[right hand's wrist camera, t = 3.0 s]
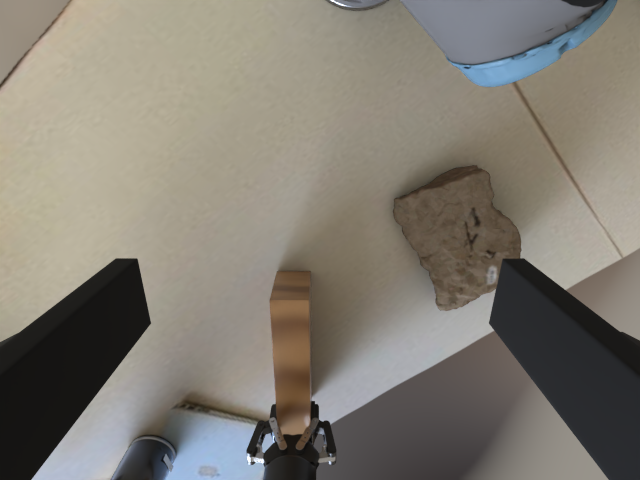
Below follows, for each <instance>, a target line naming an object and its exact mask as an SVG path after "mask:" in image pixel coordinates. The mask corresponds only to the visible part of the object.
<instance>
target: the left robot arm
mask: <svg viewBox="0 0 640 480" xmlns="http://www.w3.org/2000/svg"><path fill="white" fill-rule="evenodd" d="M268 433H270V435H271V438H272V441H273V444H272V445H271V446H270V447H269V448H268V450H267V451H266V452H265V453H263V452H262V443H263V440H264V437H265V435H266V434H268ZM318 433H319V434H322V435H323V440H324V444H325V445H324V446H323V447H322V451H321V452H320V453H318V451H317V450H316V449H315V448H314V446H313V445H314V441H315V439H316V437H317V435H318ZM175 457H176V452H175V449H174V447H173V446H172V445H171V444H170V443H169V442H168V441H166V440H164V439H162V438H160V437H156V436H142V437H139V438H137V439H135V440H134V441H133V442H132V443H131V445H130V447H129V449H128V450H127V451H126V453H125V455H124V456H123V458H122V460H121V462H120V464H119V465H118V467H117V469H116V471H115V473H114V474H113V476H112V478H111V480H166V478H167V475H168V473H169V470H170V472H171V471H172V468H173V465H172V464H173V462H174V460H175ZM247 460H248V464H249V465H253V464H254V463H255V462H261V463H264V466H265V471H264V478H263V480H316V469H317V467H318V466H319V463H323V462H329V464H330V465H334V464H335V463H336V447H335V443H334V439H333V434H332V430H331V426H330V423H329V421H324V422H322V421H320V420H319V406H318V404H315V401H311V422H310V424H309V426H308V427H306V429H305V431H304V433H303V434H296V435H290V434H283V435H282V432H281V429H280V427H279V426H278V423H277V414H276V404H273V405H272V407H271V413H270V419H269V420H268V421H266V422H264V421H259V422H258V423H257V426H256V428H255V431H254V433H253V436H252V438H251V441H250V443H249V446H248V448H247Z"/></svg>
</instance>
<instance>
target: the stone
mask: <svg viewBox="0 0 640 480" xmlns="http://www.w3.org/2000/svg"><path fill="white" fill-rule="evenodd" d="M493 197H494V193H493V190H492V188H491V184H490V175H489V173H488V172H487V171H485V170H482V169H478V167H477V166H476V165H473V166H468V167H462V168H455V169H453V170H450V171H448V172H446V173H444V174H442V175H440V176H438V177H437V178H435V179H434V180H433V181H432V182H431V183H429V184H428V185H425V186H423V187H421V188H419V189H417V190H415V191H412V192H411V193H409V194H408V195H404V196H402V197H400V198H395V199H394V210H393V213H394V218H395V220H396V222H397V223H398V224H399V225H401V226H402V231H403V234H404V236H405V237H406V239H407V240H408V241H409V243H410V245H411V246H412V248H413V249H414V250H416V251H417V253H418V256H419V258H420V263H421V266H422V267H423V268H425V269H426V270H428V271H429V275H430V278H431V280H432V282H433V285H434V287H435V293H436V305H437V307H438V308H439V310H445V311H448V310H451V309H457V308H459V307H462V306H464V305H466V304H468V303H469V302H470V301H473V300H475V299H477V298H479V297H480V296H481V295H482V294H485V293H489V292H492V291H493V290H494V289H496V288H497V283H498V278H499V273H500V269H501V264H502V259H520V252H521V238H520V235H519V232H518V229H517V227H516V226H515V225H514V224H513V222H512V221H511V220H510V219H509V218H507V217H506V216H504V215H503V214H502V213H501V212H500V211H499V210H496V209H495V208H494V207H493V204H492V201H491V200H492V198H493Z"/></svg>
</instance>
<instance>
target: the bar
mask: <svg viewBox="0 0 640 480" xmlns="http://www.w3.org/2000/svg"><path fill="white" fill-rule="evenodd" d="M270 314H271V331H272V347H273V364H274V380H275V397H276V414H277V423H278V426H279V427H280V429H281V432H282V435H283V434H290V435H296V434H303V433H304V431H305V429H306V427H308V426H309V424H310V422H311V401H312V354H311V272H310V271H277V273H276V277H275V281H274V285H273V289H272V293H271V297H270Z"/></svg>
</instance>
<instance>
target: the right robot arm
mask: <svg viewBox="0 0 640 480" xmlns="http://www.w3.org/2000/svg"><path fill="white" fill-rule="evenodd" d="M326 1H328V2H329V3H331V4H333V5H335V6H337V7H339V8H342V9H346V10H353V11H361V10H368V9H372V8H375V7H378V6H380V5H382V4H384V3H386V2H387V1H389V0H326ZM400 1H401V3H402V4H403V5H404V6H405V7H406V8H407V10H408V11H409V12H410V13H411V14H412V16H413V17H414V18H415V19H416V20H417V22H418V23H419V24H420V25H421V26H422V28H423V29H424V30H425V31H426V32H427V33H428V35H429V36H430V37H431V38H432V39H433V41H434V42H435V43H436V44H437V45H438V47H439V48H440V49H441V50H442V51H443V53H444V54H445V56H446V58H447V60H448V61H449V62H451V64H452V65H454V66H456V67H458V68H459V69H460V70H461V71H462V72H463V73H464V74H465V76H466V77H467V78H468V79H469V80H470V81H472V82H473V83H475V84H477V85H480V86H484V87H496V86H502V85H506V84H509V83H512V82H515V81H518V80H520V79H523V78H525V77H528V76H530V75H532V74H534V73H536V72H538V71H540V70H542V69H544V68H545V67H547V66H549V65H551V64H552V63H554V62H555V61H557V60H558V59H560V58H561V55H562V54H563V53H564V52H565V51H567V50H570V49H573V48H575V47H577V46H578V45H580V44H581V43H582V42H583V41H585V40H586V39H587V38H588V37H590V36H591V35H592V34H593V33H594V32H595V31H596V30H597V29H598V28H599V27H600V26H601V25H602V24H603V23H604V22H605V21H606V19H607V18H608V17H609V16H610V14H611V12H612V11H613V9H614V7H615V5H616V3H617V0H400ZM150 324H151V321H150V317H149V312H148V307H147V302H146V297H145V293H144V288H143V283H142V278H141V273H140V269H139V264H138V259H115V260H114V261H112V262H111V263H110V264H108V265H107V266H106V267H104V268H103V269H102V270H100V271H99V272H98V273H97V274H95V275H94V276H93V277H91V278H90V279H89V280H87V281H86V282H85V283H83V284H82V285H81V286H80V287H78V288H77V289H76V290H74V291H73V292H72V293H70V294H69V295H68V296H66V297H65V298H64V299H63V300H61V301H60V302H59V303H57V304H56V305H55V306H53V307H52V308H51V309H49V310H48V311H47V312H46V313H44V314H43V315H42V316H40V317H39V318H38V319H36V320H35V321H34V322H32V323H31V324H30V325H29V326H27V327H26V328H25V329H23V330H22V331H21V332H19V333H17V334H15V335H13V336H11V337H9V338H8V339H6V340H4V341H2V342H0V480H31V479H32V478H33V477H34V475H35V474H36V473H37V471H38V470H39V469H40V467H41V466H42V465H43V464H44V462H45V461H46V460H47V458H48V457H49V456H50V454H51V453H52V452H53V450H54V449H55V448H56V447H57V445H58V444H59V443H60V441H61V440H62V439H63V437H64V436H65V435H66V434H67V432H68V431H69V430H70V428H71V427H72V426H73V424H74V423H75V422H76V420H77V419H78V418H79V417H80V415H81V414H82V413H83V411H84V410H85V409H86V407H87V406H88V405H89V403H90V402H91V401H92V400H93V398H94V397H95V396H96V394H97V393H98V392H99V390H100V389H101V388H102V387H103V385H104V384H105V383H106V381H107V380H108V379H109V377H110V376H111V375H112V373H113V372H114V371H115V370H116V368H117V367H118V366H119V364H120V363H121V362H122V360H123V359H124V358H125V356H126V355H127V354H128V353H129V351H130V350H131V349H132V347H133V346H134V345H135V343H136V342H137V341H138V340H139V338H140V337H141V336H142V334H143V333H144V332H145V330H146V329H147V328H148V326H149V325H150ZM489 324H490V325H491V326H492V328H493V329H494V330H495V332H496V333H497V334H498V336H499V337H500V338H501V339H502V341H503V342H504V343H505V345H506V346H507V347H508V349H509V350H510V351H511V353H512V354H513V355H514V356H515V358H516V359H517V360H518V362H519V363H520V364H521V366H522V367H523V368H524V370H525V371H526V372H527V373H528V375H529V376H530V377H531V379H532V380H533V381H534V383H535V384H536V385H537V387H538V388H539V389H540V390H541V392H542V393H543V394H544V396H545V397H546V398H547V400H548V401H549V402H550V403H551V405H552V406H553V407H554V409H555V410H556V411H557V413H558V414H559V415H560V417H561V418H562V419H563V420H564V422H565V423H566V424H567V426H568V427H569V428H570V430H571V431H572V432H573V434H574V435H575V436H576V437H577V439H578V440H579V441H580V443H581V444H582V445H583V447H584V448H585V449H586V450H587V452H588V453H589V454H590V456H591V457H592V458H593V460H594V461H595V462H596V463H597V465H598V466H599V467H600V469H601V470H602V471H603V473H604V474H605V475H606V477H607V478H608V479H609V480H640V341H639V340H637V339H635V338H633V337H632V336H630V335H628V334H626V333H624V332H619V331H618V330H617V329H615V328H614V327H613V326H611V325H610V324H609V323H608V322H606V321H605V320H604V319H602V318H601V317H600V316H598V315H597V314H596V313H594V312H593V311H592V310H591V309H589V308H588V307H587V306H585V305H584V304H583V303H581V302H580V301H579V300H577V299H576V298H575V297H573V296H572V295H571V294H570V293H568V292H567V291H566V290H564V289H563V288H562V287H560V286H559V285H558V284H557V283H555V282H554V281H553V280H551V279H550V278H549V277H547V276H546V275H545V274H543V273H542V272H541V271H540V270H538V269H537V268H536V267H534V266H533V265H532V264H530V263H529V262H528V261H526V260H525V259H502V264H501V269H500V273H499V278H498V283H497V288H496V293H495V297H494V302H493V307H492V312H491V316H490V321H489Z"/></svg>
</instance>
